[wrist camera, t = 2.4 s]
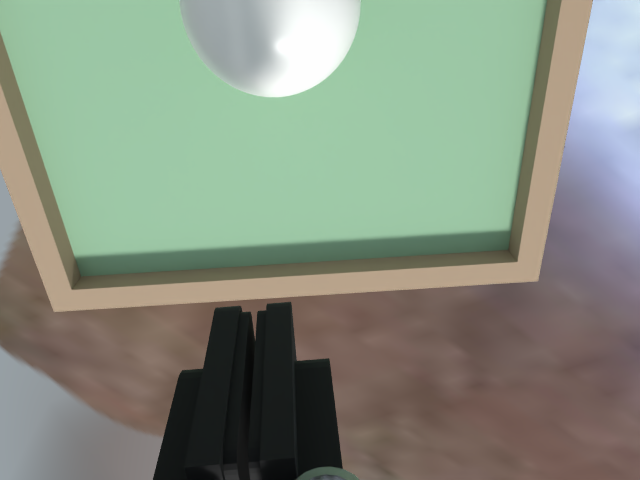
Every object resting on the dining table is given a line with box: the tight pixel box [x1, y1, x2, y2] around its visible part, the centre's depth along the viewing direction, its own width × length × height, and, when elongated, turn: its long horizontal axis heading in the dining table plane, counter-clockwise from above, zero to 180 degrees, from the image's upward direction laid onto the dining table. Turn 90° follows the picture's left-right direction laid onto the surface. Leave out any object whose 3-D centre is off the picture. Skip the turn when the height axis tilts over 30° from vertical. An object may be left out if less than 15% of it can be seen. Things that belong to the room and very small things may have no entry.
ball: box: [179, 0, 361, 97], centre depth 14 cm, size 5×5×5 cm
